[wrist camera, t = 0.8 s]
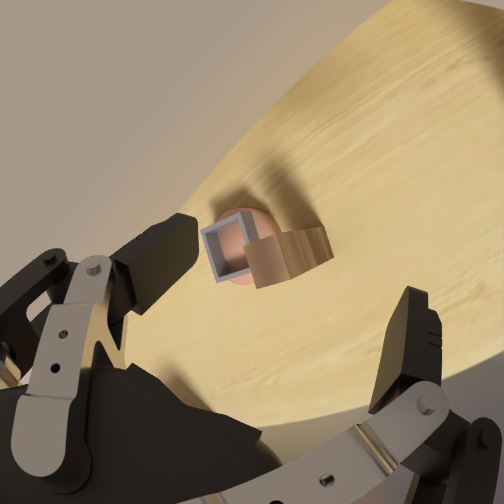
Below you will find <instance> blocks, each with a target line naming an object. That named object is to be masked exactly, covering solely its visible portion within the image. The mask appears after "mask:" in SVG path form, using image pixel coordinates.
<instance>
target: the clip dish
mask: <svg viewBox="0 0 504 504" xmlns="http://www.w3.org/2000/svg"><path fill="white" fill-rule="evenodd" d="M200 231H201V235H202V238H203V241H204V245H205V248H206V251H207V254H208V258H209V261H210V264H211V267H212V270H213V274H214V277H215V280H216V283H219V282H222V281H225V280H229V281H231V282H233V283H236V284H242V285H245V284H251V283H254V279H253V276H252V273H251V270H250V267H249V264H248V261H247V258H246V255H245V251H244V248H243V246H244V245H247V244H249V243H252V242H255V241H257V240H260V239H263V238H265V237H268V236H271V235H273V234H276V233H281V230H280V228H279V226H278V224H277V223H276V221H275V220H274V219H273V218H272V217H271V216H270V215H269V214H267V213H266V212H264V211H262V210H259V209H255V208H235V209H231V210H228V211H226V212H224V213H223V214H222V215H221V216H220V217H219V218H218V219H217V220H216V221H215V223H214V224H213V225H210V226H208V227H206V228H204V229H202V230H200Z"/></svg>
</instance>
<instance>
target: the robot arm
mask: <svg viewBox="0 0 504 504" xmlns="http://www.w3.org/2000/svg"><path fill="white" fill-rule="evenodd" d="M198 255H199V241H198V222H197V219H196V218H195V217H191V216H188V215H185V214H181V213H176V214H174V215H173V216H171V217H170V218H169V219H167V220H166V221H163V222H161V223H158V224H156V225H153V226H151V227H150V228H148V229H147V230H146V231H144V232H143V234H140V235H138V236H137V237H136V238H135V239H133V240H131V241H130V242H128V243H127V244H126V245H124V246H123V247H122V248H120V249H119V250H118V251H116V252H115V253H114V254H112V255H111V256H110V257H106V256H103V255H95V256H90V257H88V258H86V259H84V260H82V261H81V262H80V263H75V262H69V261H68V259H67V256H66V253H65V251H64V250H62V249H58V248H55V249H50V250H48V251H45V252H44V253H42V254H41V255H39V256H38V257H37V258H36V259H34V260H33V261H32V262H30V263H29V264H28V265H27V266H25V267H24V268H23V269H22V270H21V271H19V272H18V273H17V274H15V275H14V276H13V277H12V278H11V279H9V280H8V281H7V282H6V283H5V284H4V285H2V286H1V287H0V504H351V503H353V502H354V501H355V500H357V499H358V498H360V497H361V496H363V495H364V494H366V493H367V492H368V491H370V490H371V489H372V488H374V487H375V486H376V485H377V484H379V483H380V482H382V481H383V480H384V479H385V478H387V477H388V476H389V475H390V474H391V473H392V472H393V471H394V468H395V467H396V466H397V465H398V464H399V463H400V464H401V465H403V466H405V467H406V468H408V469H409V470H411V471H413V472H414V475H413V479H412V481H411V485H410V488H409V491H408V494H407V497H406V499H405V502H404V504H493V500H494V495H495V489H496V484H497V478H498V472H499V463H500V456H501V445H502V436H501V432H500V429H499V427H498V426H497V424H496V423H495V422H494V421H492V420H491V419H488V418H485V417H483V418H478V419H476V420H475V421H474V422H472V423H469V422H468V421H466V420H465V419H463V418H461V417H460V416H458V415H457V414H455V413H454V412H452V411H451V410H450V409H449V400H448V397H447V395H446V393H445V392H444V391H443V389H442V388H441V376H442V349H441V347H442V338H441V337H442V323H441V321H440V319H439V316H438V314H437V312H436V311H434V310H431V309H428V293H427V292H425V291H422V290H419V289H416V288H413V287H410V286H407V287H406V289H405V290H404V292H403V295H402V297H401V299H400V301H399V303H398V305H397V307H396V309H395V311H394V313H393V315H392V317H391V319H390V321H389V323H388V326H387V329H386V333H385V339H384V344H383V349H382V355H381V360H380V364H379V369H378V374H377V378H376V382H375V387H374V391H373V395H372V399H371V403H370V407H369V411H368V413H370V414H373V416H372V417H371V418H369V419H368V420H366V421H365V422H363V423H362V424H360V425H359V424H357V425H354V426H353V427H351V428H349V429H348V430H346V431H344V432H343V433H341V434H340V435H338V436H336V437H335V438H333V439H331V440H330V441H328V442H326V443H324V444H323V445H321V446H319V447H317V448H316V449H314V450H312V451H310V452H308V453H307V454H305V455H303V456H301V457H299V458H297V459H295V460H293V461H291V462H290V463H287V464H285V465H283V464H282V462H281V461H280V459H279V458H278V456H277V455H276V454H275V453H274V451H273V450H271V449H270V448H269V447H268V446H267V445H266V444H265V443H264V442H262V441H261V440H260V437H261V434H262V431H260V430H258V429H256V428H253V427H251V426H249V425H246V424H244V423H242V422H240V421H238V420H235V419H233V418H231V417H229V416H227V415H223V414H219V413H215V412H210V411H206V410H202V409H198V408H195V407H191V406H188V405H186V404H184V403H183V402H182V401H181V400H179V399H178V398H177V397H176V396H175V395H174V394H173V393H172V392H171V391H170V390H169V389H168V388H167V387H166V386H165V385H164V384H163V383H162V382H161V381H160V380H159V379H158V378H156V377H155V376H153V375H151V374H150V373H148V372H146V371H145V370H143V369H142V368H140V367H138V366H137V365H135V364H134V363H132V364H131V365H130V366H129V367H128V368H127V369H126V365H125V345H126V334H127V325H128V316H127V313H128V312H129V311H130V310H132V311H134V312H135V313H137V314H139V315H141V316H142V315H143V314H144V313H145V312H146V311H147V310H148V309H149V308H150V307H151V306H152V305H153V304H154V303H155V302H156V301H157V300H158V299H159V298H160V297H161V296H162V295H163V294H164V293H165V292H166V291H167V290H168V289H169V288H170V287H171V286H172V285H173V284H174V283H176V282H177V281H178V280H179V279H180V278H181V277H182V276H183V275H184V274H185V273H186V272H187V271H188V270H189V269H190V268H191V267H192V266H193V265H194V264H195V262H196V261H197V258H198ZM45 291H47V294H48V296H49V298H50V300H51V303H50V304H49V305H48V306H47V307H46V308H45V309H44V310H43V311H42V312H40V313H39V314H38V315H37V316H36V317H35V318H34V319H33V320H32V321H31V322H29V320H28V318H27V316H26V311H27V308H28V306H29V305H30V304H31V303H32V302H33V301H34V300H36V299H37V298H38V297H39V296H40V295H41V294H42V293H43V292H45ZM32 367H33V368H32ZM31 368H32V372H31V376H30V381H29V384H25V385H22V384H21V383H20V382H19V381H20V380H21V379H22V378H23V377H24V375H25V374H26V373H27V372H28V371H29V370H30V369H31Z"/></svg>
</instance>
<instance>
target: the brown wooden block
mask: <svg viewBox="0 0 504 504" xmlns="http://www.w3.org/2000/svg"><path fill="white" fill-rule="evenodd" d="M243 248H244V251H245V255H246V258H247V261H248V264H249V267H250V270H251V273H252V276H253V279H254V283H255V286H256V289H258V288H262V287H266V286H269V285H273V284H277V283H280V282H284V281H287V280H291V279H293V278H295V277H297V276H299V275H301V274H303V273H305V272H307V271H309V270H311V269H313V268H315V267H316V266H318V265H320V264H322V263H324V262H326V261H328V260H330V259H332V258H334V256H333V253H332V250H331V246H330V243H329V240H328V237H327V234H326V231H325V228H324V226H322V227H315V228H309V229H302V230H296V231H289V232H283V233H276V234H273V235H271V236H268V237H265V238H263V239H260V240H257V241H255V242H252V243H249V244H247V245H244V246H243Z"/></svg>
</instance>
